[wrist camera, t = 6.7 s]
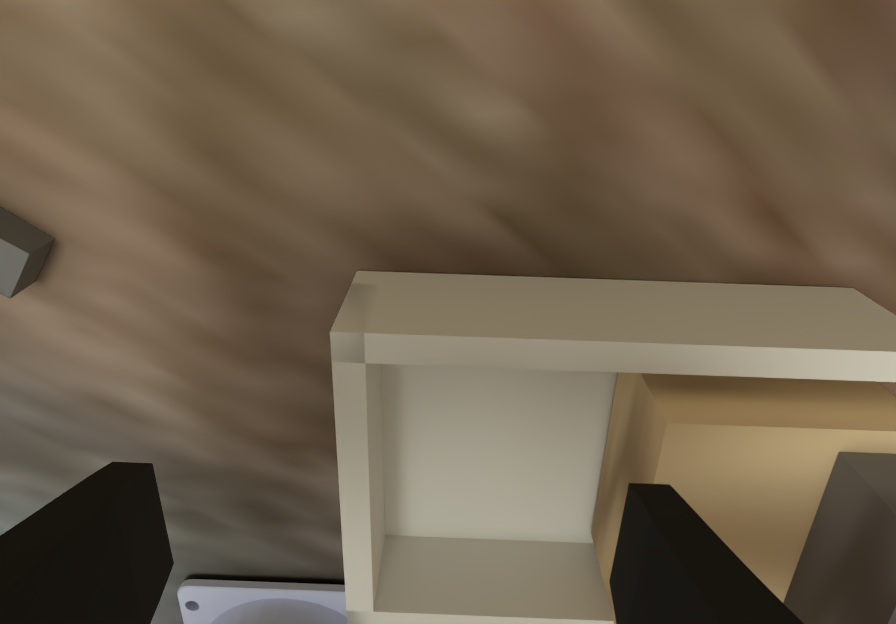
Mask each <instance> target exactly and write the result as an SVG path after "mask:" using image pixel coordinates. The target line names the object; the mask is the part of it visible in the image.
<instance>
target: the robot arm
mask: <svg viewBox="0 0 896 624" xmlns="http://www.w3.org/2000/svg"><path fill="white" fill-rule="evenodd" d="M173 564H174V563H173V558H172V553H171V548H170V544H169V539H168V534H167V530H166V525H165V520H164V516H163V511H162V506H161V502H160V497H159V492H158V487H157V483H156V478H155V473H154V469H153V464H152V463H128V462H111V463H110V464H108V465H107V466H105V467H103V468H102V469H100V470H98V471H97V472H95V473H94V474H92V475H90V476H89V477H87V478H86V479H84V480H83V481H81V482H80V483H78V484H77V485H75V486H74V487H72V488H71V489H69V490H68V491H66V492H65V493H63V494H62V495H60V496H59V497H57V498H56V499H54V500H53V501H51V502H50V503H48V504H47V505H45V506H44V507H43V508H41V509H40V510H38V511H37V512H35V513H34V514H32V515H31V516H29V517H28V518H26V519H25V520H23V521H22V522H20V523H19V524H17V525H16V526H14V527H13V528H11V529H10V530H8V531H7V532H5V533H4V534H2V535H1V536H0V624H150V623H151V620H152V618H153V615H154V613H155V610H156V608H157V606H158V603H159V601H160V598H161V596H162V593H163V590H164V588H165V585H166V582H167V580H168V577H169V574H170V572H171V569H172V567H173ZM609 583H610V589H611V595H612V601H613V606H614V612H615V618H616V624H804V623H803V622H802V621H801V620H800V619H799V618H798V617H797V616H796V615H795V614H794V613H793V612H792V611H791V610H789V609H788V608H787V607H786V606H785V605H784V604H783V603H782V602H781V601H780V600H779V599H778V598H777V597H776V596H775V595H774V594H773V593H772V592H771V591H770V590H769V589H768V588H767V586H766V585H765V584H764V583H763V582H762V581H761V580H760V579H759V578H758V577H757V576H756V575H755V574H754V573H753V572H752V571H751V570H750V569H749V568H748V567H747V566H746V565H745V564H744V563H743V562H742V561H741V560H740V559H739V558H738V557H737V556H736V555H735V553H734V552H733V551H732V550H731V549H730V548H729V547H728V546H727V545H726V544H725V543H724V542H723V541H722V540H721V539H720V538H719V537H718V535H717V534H716V533H715V532H714V531H713V530H712V529H711V528H710V527H709V526H708V525H707V524H706V523H705V522H704V520H703V519H702V518H701V517H700V516H699V515H698V514H697V513H696V512H695V511H694V510H693V509H692V508H691V506H690V505H689V504H688V503H687V502H686V501H685V500H684V499H683V498H682V497H681V496H680V495H679V494H678V493H677V492H676V491H675V489H674V488H673V487H672V486H671V485H670V484H646V483H629V485H628V490H627V495H626V500H625V505H624V510H623V515H622V520H621V525H620V530H619V535H618V540H617V545H616V550H615V555H614V560H613V565H612V570H611V575H610V580H609ZM177 595H178V600H179V604H180V609H181V613H182V618H183V622H184V624H347V613H346V596H345V585H335V584H309V583H283V582H257V581H231V580H205V579H188V580H185V581H183V583H182V584H181V586H180V588H179V590H178V593H177Z"/></svg>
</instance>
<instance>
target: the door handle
mask: <svg viewBox="0 0 896 624" xmlns="http://www.w3.org/2000/svg"><path fill="white" fill-rule="evenodd" d="M54 239H55V238H53V237H51V236H50V235H48V234H46V233H45V232H43V231H41V230H40V229H38V228H36V227H34V226H33V225H31V224H29V223H28V222H26V221H24V220H22V219H21V218H19V217H17V216H16V215H14V214H12V213H10V212H9V211H7V210H5V209H4V208H2V207H0V294H2V295H4V296H6V297H8V298H12V297H13V296H15V295H16V294H18V293H19V292H20V291H22V290H23V289H25V288H26V287H28V286H29V285H31V284H32V283H33V282H35V281H36V279H37V277H38V275H39V272H40V270H41V268H42V266H43V263H44V261H45V259H46V257H47V255H48V252H49V250H50V248H51V246H52V243H53V241H54Z"/></svg>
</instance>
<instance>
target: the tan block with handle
mask: <svg viewBox="0 0 896 624" xmlns="http://www.w3.org/2000/svg"><path fill="white" fill-rule="evenodd" d="M629 483H646V484H670V485H671V486H672V487H673V488H674V489H675V491H676V492H677V493H678V494H679V495H680V496H681V497H682V498H683V499H684V500H685V501H686V502H687V503H688V504H689V505H690V506H691V508H692V509H693V510H694V511H695V512H696V513H697V514H698V515H699V516H700V517H701V518H702V519H703V520H704V522H705V523H706V524H707V525H708V526H709V527H710V528H711V529H712V530H713V531H714V532H715V533H716V534H717V535H718V537H719V538H720V539H721V540H722V541H723V542H724V543H725V544H726V545H727V546H728V547H729V548H730V549H731V550H732V551H733V552H734V553H735V555H736V556H737V557H738V558H739V559H740V560H741V561H742V562H743V563H744V564H745V565H746V566H747V567H748V568H749V569H750V570H751V571H752V572H753V573H754V574H755V575H756V576H757V577H758V578H759V579H760V580H761V581H762V582H763V583H764V584H765V585H766V586H767V588H768V589H769V590H770V591H771V592H772V593H773V594H774V595H775V596H776V597H777V598H778V599H779V600H780V601H781V602H782V603H783V604H784V605H785V606H786V607H787V608H788V609H789V610H791V611H792V612H793V613H794V614H795V615H796V616H797V617H798V618H799V619H800V620H801V621H802V622H803V623H804V624H896V398H895V397H894V396H892V395H891V394H890V393H889V392H888V391H886V390H885V389H884V388H883V387H882V386H880V385H879V384H878V383H877V382H876V381H849V380H821V379H793V378H765V377H737V376H709V375H681V374H653V373H624V372H618V375H617V381H616V387H615V393H614V399H613V405H612V411H611V417H610V423H609V429H608V435H607V440H606V446H605V452H604V458H603V464H602V470H601V476H600V482H599V488H598V494H597V500H596V506H595V512H594V518H593V524H592V530H591V535H592V539H593V543H594V547H595V550H596V554H597V558H598V562H599V566H600V570H601V574H602V578H603V581H604V585H605V589H606V593H607V597H608V601H609V605H610V609H611V612H612V616H613V620H614V624H616V618H615V612H614V606H613V601H612V595H611V589H610V583H609V580H610V575H611V570H612V565H613V560H614V555H615V550H616V545H617V540H618V535H619V530H620V525H621V520H622V515H623V510H624V505H625V500H626V495H627V490H628V485H629Z"/></svg>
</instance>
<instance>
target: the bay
mask: <svg viewBox="0 0 896 624" xmlns="http://www.w3.org/2000/svg"><path fill="white" fill-rule="evenodd" d="M330 343H331V360H332V377H333V394H334V411H335V428H336V444H337V461H338V478H339V495H340V512H341V529H342V545H343V562H344V579H345V596H346V613H347V624H614V620H613V616H612V612H611V609H610V605H609V601H608V597H607V593H606V589H605V585H604V581H603V578H602V574H601V570H600V566H599V562H598V558H597V554H596V550H595V547H594V543H593V539H592V535H591V530H592V524H593V518H594V512H595V506H596V500H597V494H598V488H599V482H600V476H601V470H602V464H603V458H604V452H605V446H606V440H607V435H608V429H609V423H610V417H611V411H612V405H613V399H614V393H615V387H616V381H617V375H618V372H624V373H653V374H681V375H709V376H737V377H765V378H793V379H821V380H849V381H877V382H896V315H894V314H892V313H891V312H889V311H888V310H886V309H885V308H883V307H882V306H880V305H879V304H877V303H875V302H874V301H872V300H871V299H869V298H868V297H866V296H865V295H863V294H862V293H860V292H858V291H857V290H855V289H854V288H844V287H815V286H786V285H757V284H728V283H699V282H670V281H641V280H611V279H582V278H553V277H524V276H495V275H466V274H437V273H408V272H379V271H357V272H356V274H355V277H354V279H353V281H352V283H351V286H350V288H349V290H348V292H347V295H346V297H345V299H344V301H343V304H342V306H341V308H340V310H339V312H338V315H337V317H336V319H335V321H334V324H333V326H332V328H331V330H330Z"/></svg>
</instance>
